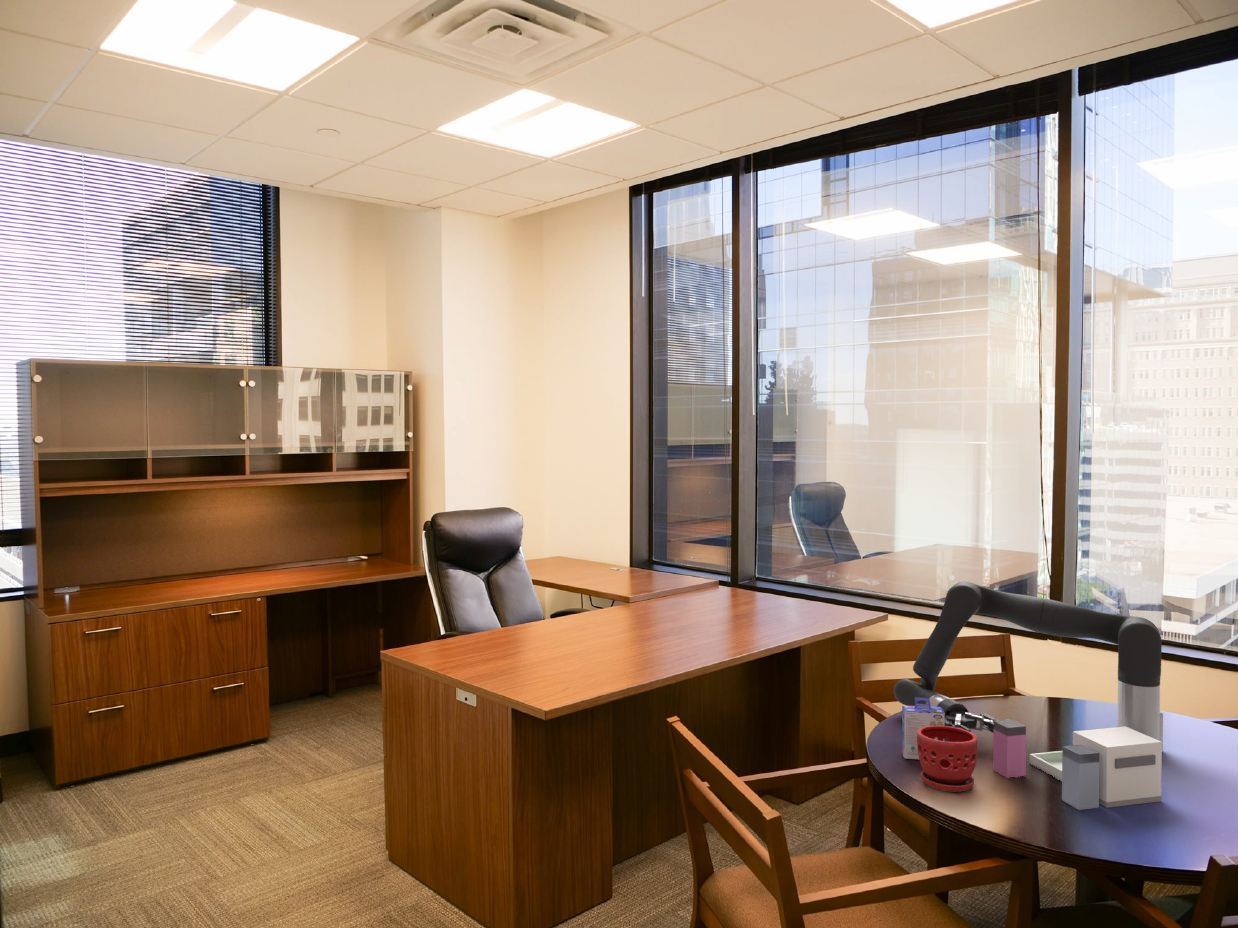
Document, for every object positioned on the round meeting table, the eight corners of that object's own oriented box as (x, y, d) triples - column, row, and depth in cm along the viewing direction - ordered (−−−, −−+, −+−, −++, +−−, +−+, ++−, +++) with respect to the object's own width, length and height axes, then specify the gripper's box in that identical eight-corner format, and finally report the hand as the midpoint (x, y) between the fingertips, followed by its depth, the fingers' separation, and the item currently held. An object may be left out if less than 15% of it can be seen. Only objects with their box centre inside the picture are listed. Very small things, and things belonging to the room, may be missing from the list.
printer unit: (1121, 781, 194) (1122, 725, 194) (1162, 801, 183) (1163, 742, 183) (1069, 787, 191) (1070, 729, 191) (1108, 808, 180) (1108, 747, 180)
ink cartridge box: (942, 753, 212) (942, 697, 212) (946, 762, 207) (946, 704, 206) (901, 751, 214) (901, 695, 214) (904, 759, 209) (904, 701, 208)
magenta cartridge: (1011, 767, 203) (1011, 719, 202) (1025, 776, 198) (1026, 726, 197) (993, 769, 202) (993, 720, 201) (1007, 778, 197) (1007, 727, 196)
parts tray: (1069, 759, 207) (1069, 749, 207) (1104, 777, 196) (1104, 767, 196) (1029, 763, 205) (1029, 753, 205) (1063, 782, 194) (1063, 771, 194)
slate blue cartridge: (1081, 797, 186) (1081, 744, 185) (1098, 807, 181) (1099, 752, 180) (1062, 799, 185) (1062, 746, 184) (1078, 809, 180) (1079, 754, 179)
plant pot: (990, 789, 190) (990, 737, 190) (945, 800, 185) (946, 746, 185) (947, 768, 202) (947, 719, 202) (904, 777, 197) (904, 727, 197)
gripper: (922, 700, 223) (959, 720, 207) (970, 696, 226) (1010, 715, 210) (922, 728, 223) (959, 750, 207) (970, 723, 226) (1010, 745, 210)
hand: (985, 732), depth 208 cm, fingers open, 8 cm apart
